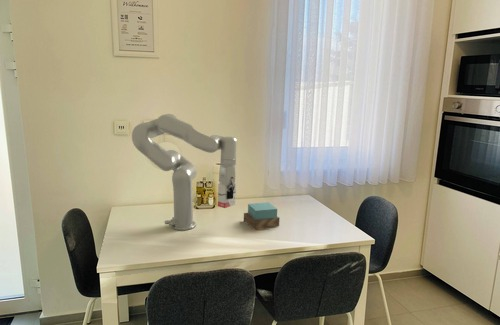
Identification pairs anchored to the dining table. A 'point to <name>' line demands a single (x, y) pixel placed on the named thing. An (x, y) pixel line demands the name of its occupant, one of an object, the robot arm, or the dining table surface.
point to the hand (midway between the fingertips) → (226, 196)
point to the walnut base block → (260, 222)
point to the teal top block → (262, 211)
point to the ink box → (225, 196)
